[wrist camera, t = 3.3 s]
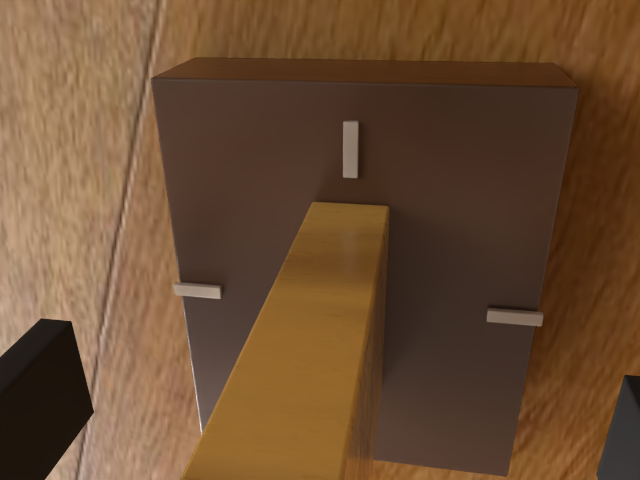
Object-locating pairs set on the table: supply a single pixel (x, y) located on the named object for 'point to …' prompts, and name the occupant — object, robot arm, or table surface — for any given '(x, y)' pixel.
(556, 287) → the table surface
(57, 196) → the table surface
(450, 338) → the plate
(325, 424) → the handle
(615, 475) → the robot arm
